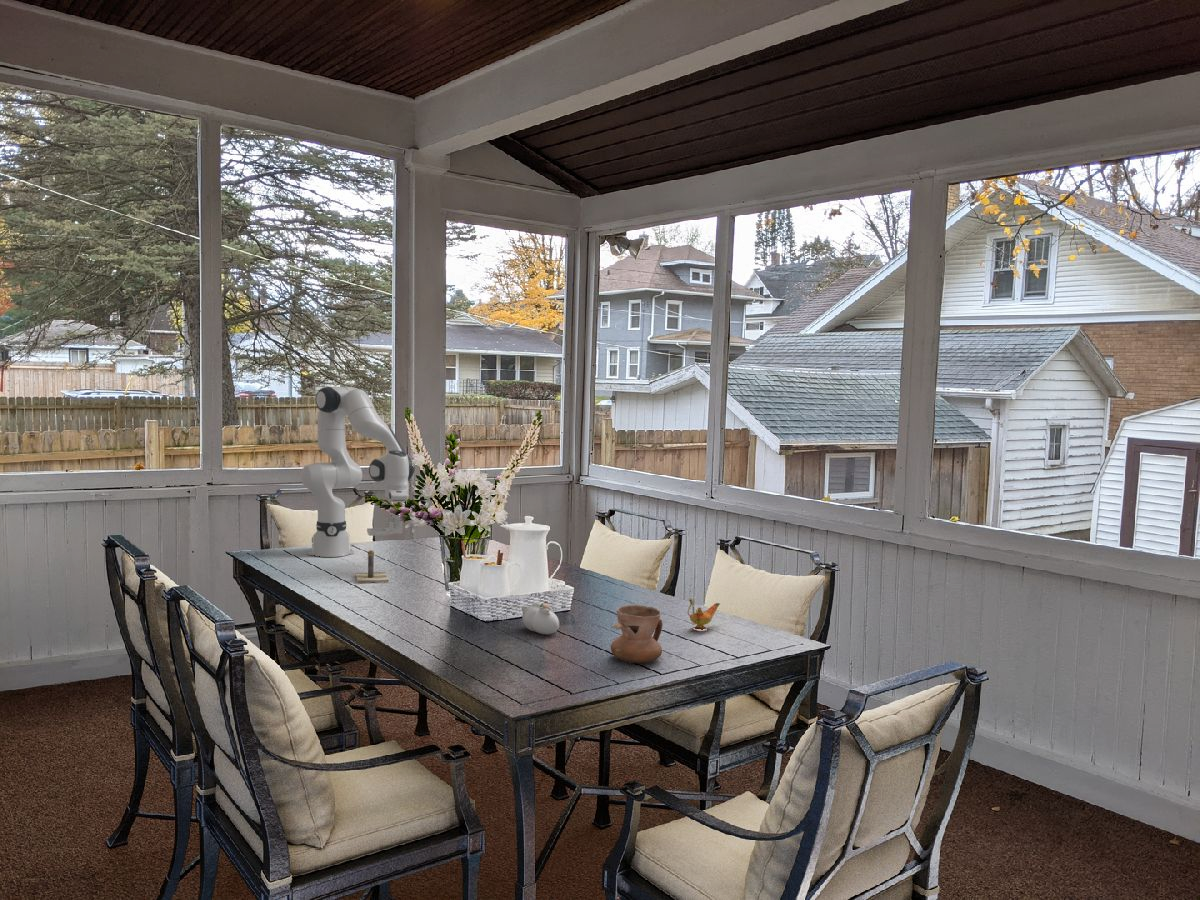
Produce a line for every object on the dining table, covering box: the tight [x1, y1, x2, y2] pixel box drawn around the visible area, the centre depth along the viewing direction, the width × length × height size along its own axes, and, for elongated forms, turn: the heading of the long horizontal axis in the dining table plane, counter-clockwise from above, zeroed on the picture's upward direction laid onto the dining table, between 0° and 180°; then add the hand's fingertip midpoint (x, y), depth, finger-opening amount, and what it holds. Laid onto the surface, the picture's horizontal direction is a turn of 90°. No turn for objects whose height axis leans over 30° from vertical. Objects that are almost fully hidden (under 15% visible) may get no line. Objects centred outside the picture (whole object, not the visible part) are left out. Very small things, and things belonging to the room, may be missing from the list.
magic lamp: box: [687, 598, 721, 630], centre depth 285 cm, size 7×18×11 cm, turn 139°
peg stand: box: [354, 550, 389, 584], centre depth 336 cm, size 13×11×11 cm
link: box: [366, 520, 404, 536], centre depth 346 cm, size 8×13×4 cm, turn 110°
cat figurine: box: [520, 601, 560, 636], centre depth 275 cm, size 10×8×15 cm
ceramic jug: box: [610, 604, 663, 664], centre depth 252 cm, size 18×14×14 cm
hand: (396, 528), depth 347 cm, fingers closed on link, 2 cm apart
